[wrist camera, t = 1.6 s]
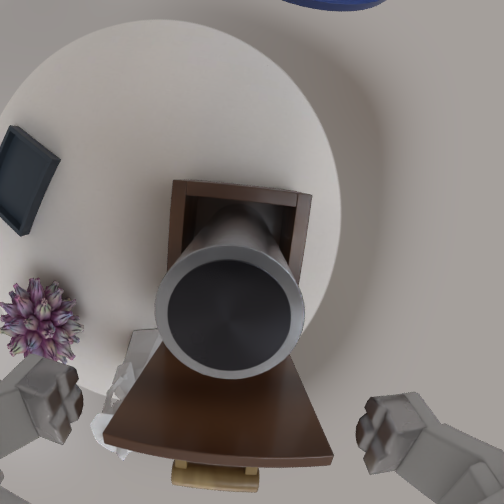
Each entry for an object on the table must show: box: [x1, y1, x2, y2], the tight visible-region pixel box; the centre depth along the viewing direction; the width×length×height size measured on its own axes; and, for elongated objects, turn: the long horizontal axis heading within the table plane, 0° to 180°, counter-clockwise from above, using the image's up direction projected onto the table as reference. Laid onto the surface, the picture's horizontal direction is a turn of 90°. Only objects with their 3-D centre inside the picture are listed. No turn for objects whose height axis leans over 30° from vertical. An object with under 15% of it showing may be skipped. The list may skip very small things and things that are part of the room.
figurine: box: [90, 329, 163, 461], centre depth 28 cm, size 7×8×18 cm
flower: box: [0, 278, 84, 364], centre depth 29 cm, size 12×12×12 cm
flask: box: [155, 204, 305, 379], centre depth 22 cm, size 6×6×20 cm
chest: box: [167, 180, 312, 285], centre depth 29 cm, size 14×11×8 cm
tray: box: [0, 125, 61, 237], centre depth 29 cm, size 11×10×2 cm
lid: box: [102, 341, 334, 492], centre depth 19 cm, size 15×11×5 cm
